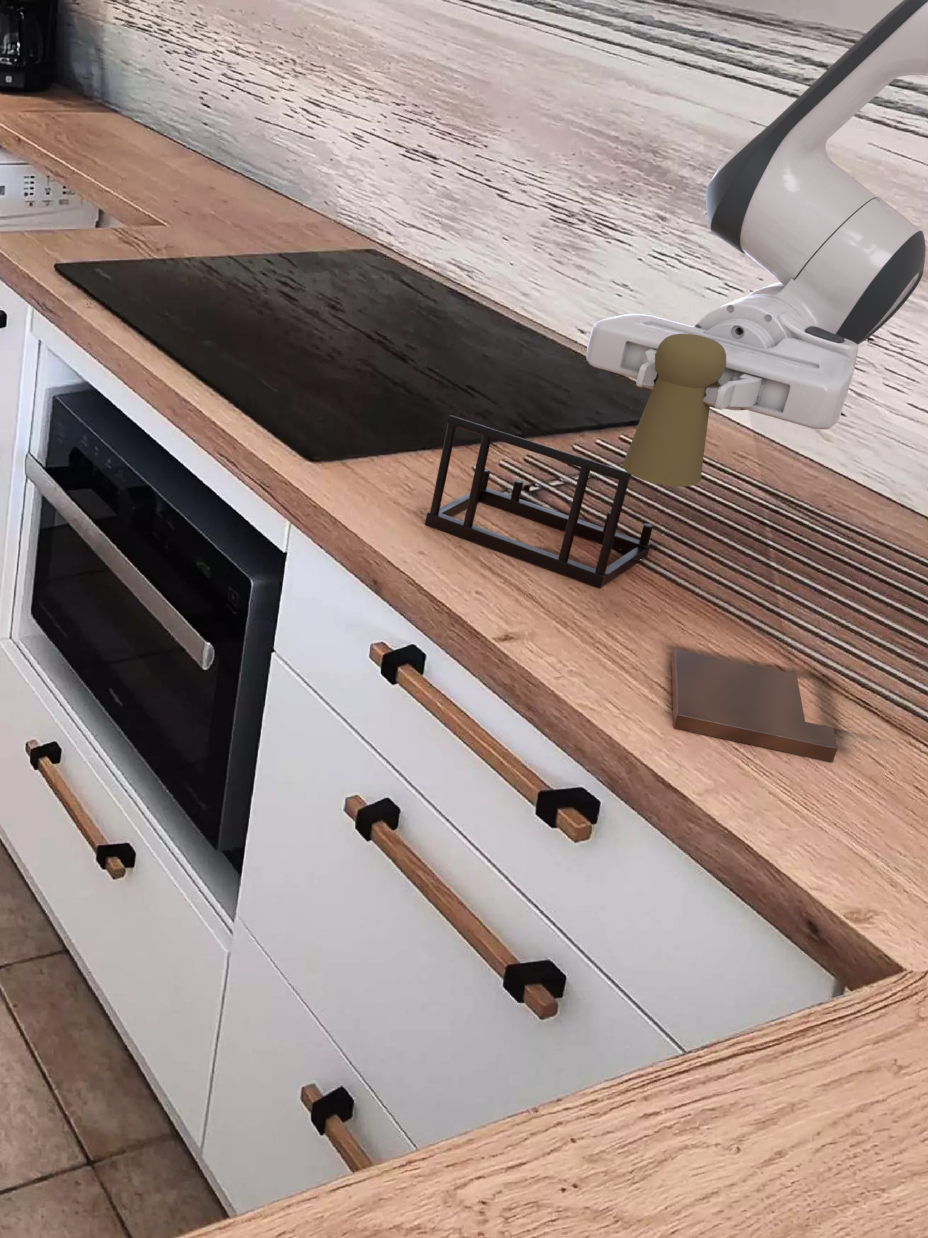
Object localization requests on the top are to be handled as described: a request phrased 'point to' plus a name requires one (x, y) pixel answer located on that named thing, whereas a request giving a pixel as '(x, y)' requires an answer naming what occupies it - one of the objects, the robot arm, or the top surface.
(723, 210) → the robot arm
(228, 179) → the top surface
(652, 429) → the cork
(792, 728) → the walnut board
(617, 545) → the dish rack
